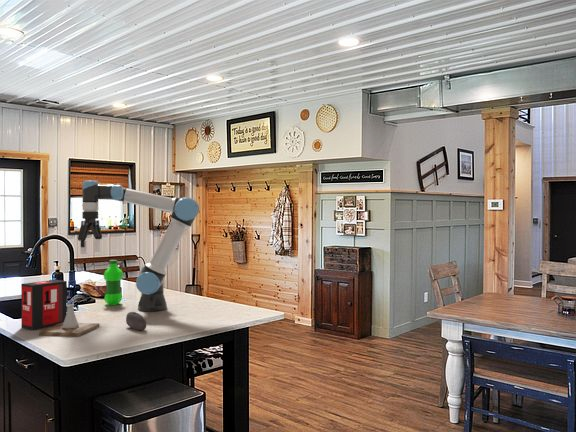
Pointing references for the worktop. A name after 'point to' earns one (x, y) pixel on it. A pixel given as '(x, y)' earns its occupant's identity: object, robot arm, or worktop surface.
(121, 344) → the worktop surface
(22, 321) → the cleaning product box
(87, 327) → the walnut board
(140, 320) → the perforated stone tool
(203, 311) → the worktop surface
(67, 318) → the flask
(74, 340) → the worktop surface
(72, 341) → the worktop surface
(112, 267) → the plastic bottle
